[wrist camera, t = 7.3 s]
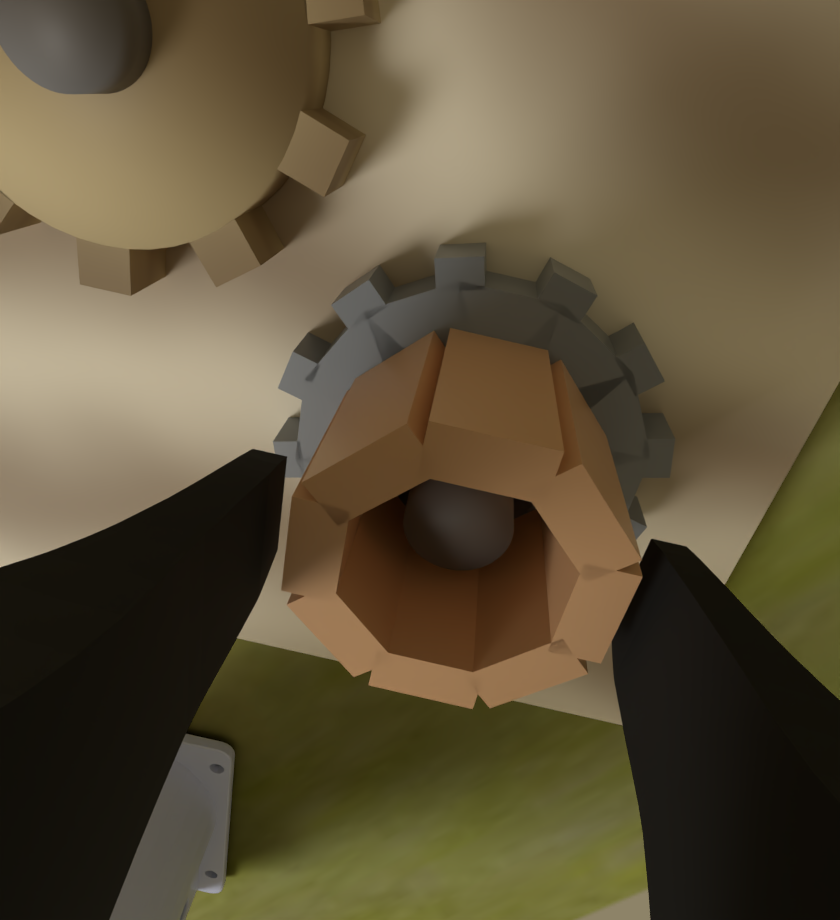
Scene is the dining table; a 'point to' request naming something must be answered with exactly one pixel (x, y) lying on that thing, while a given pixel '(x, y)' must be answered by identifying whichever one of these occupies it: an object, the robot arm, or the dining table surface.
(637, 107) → the carrier
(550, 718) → the dining table surface
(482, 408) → the planet gear
